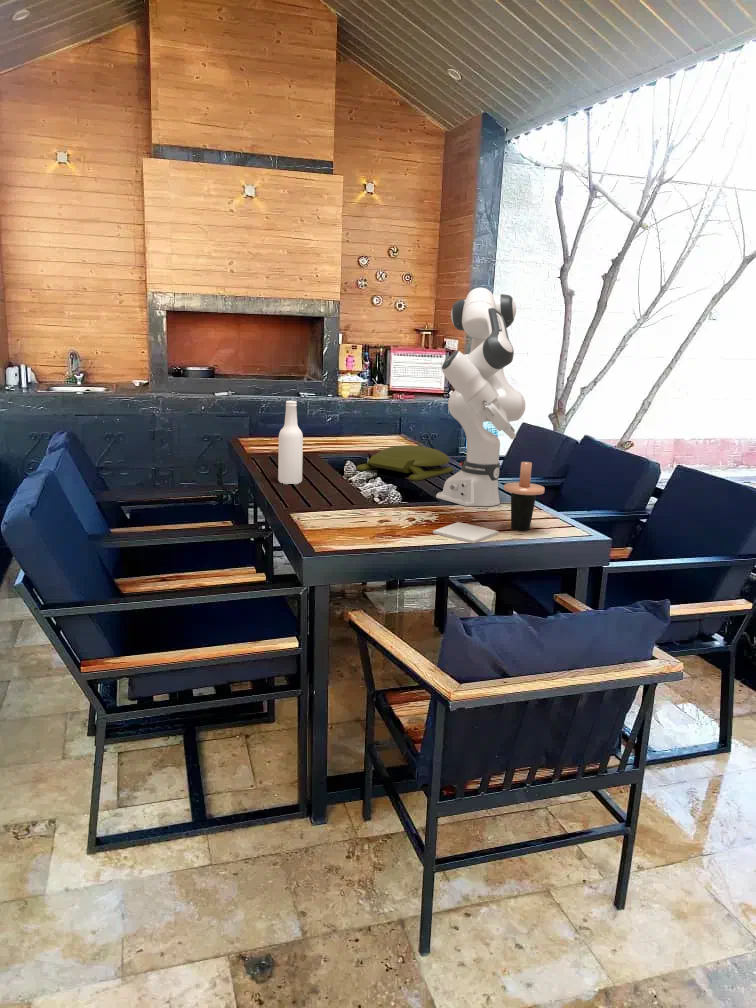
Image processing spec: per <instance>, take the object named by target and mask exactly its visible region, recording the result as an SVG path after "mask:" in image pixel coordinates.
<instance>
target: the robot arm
mask: <svg viewBox="0 0 756 1008" xmlns="http://www.w3.org/2000/svg"><path fill="white" fill-rule="evenodd" d="M450 311H451V312H450V319H451V322H452V324H453V326H454V328H455V329H456V330H458V331H462V332H463V331H464V332H465V333H466V334H467V335H468V336H469V337H471V343H470V352H469V353H467V354H465V353H463V352H461V351H459V350H456V351H454V352H453V353H451V354H450V355H449V356H448V357H447V359H445V360H444V362H443V363H442V364H441V365H442V366H441V371H442V373H443V375H444V377H445V378H446V379H447V381H448V383H449V384H450V385H451V386H452V387H453V389H454V391H452V393H451V394H450V396H449V398H448V402H447V403H448V404H447V407H448V410H449V414H450V415H451V416H452V417H453V419H455V420H456V421H457V422H458V423H459V425H460V426H461V427H462V429H463V430H464V434H465V437H466V457H465V460H464V461H461V462H459V465H458V466H461V468H460V470H459V471H457V472H456V473H455V474H453V475H451V476H450V477H447V479H446V480H445V482H444V484H443V490H442V491H440V492H437V494H436V495H435V497H436V498H437V499H440V500H443V501H447V502H451V503H454V504H457V505H459V506H460V505H462V506H464V507H494V506H497V505H500V504H501V500H500V495H499V477H500V466H501V465H500V464H501V463H500V460H499V459H500V449H501V441H500V439H499V437H498V436H497V435H496V434H495V433H493V432H491V431H489V430H488V429H486V428H485V427H484V423H486V422H490V423H491V424H492V425H493V426H494V428H495V429H496V430H497V431H498V432H501V431H502V432H503V433H505V434H506V435H507V436H508V437H509V439H510V440H513V439H515V438H516V437H517V434H516V433H515V431H516V430H515V428H514V427H513V426H512V424H511V423H510V422H516V421H519V420H520V419H521V418H522V416H523V415H524V413H525V411H526V400H525V398H524V396H523V395H522V393H521V392H519V391H518V390H516V389H515V388H514V387H513V386H512V385H511V384H510V383H509V381H508V380H507V378H506V376H505V372H504V368H505V367H507V366H508V365H510V364H511V363H512V362H513V360H514V353H515V352H514V351H515V350H514V347H513V345H512V343H511V341H510V338H509V333H508V329H507V328H509V327H511V326H512V324H513V323H514V321H515V317H516V314H517V306H516V303H515V301H514V298H513V297H512V296H511V295H509V294H505V293H504V294H502V293H501V294H500V295H497V294H496V295H495V294H493V293H492V292H491V291H490V290H489V289H488V288H485V287H475V288H474V289H471V290H470V292H468V294H467V296H466V297H465V298H463V299H459V300H457V301H455V302H454V303H453V304H452V308H451V310H450Z"/></svg>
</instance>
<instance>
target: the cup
mask: <svg viewBox="0 0 756 1008" xmlns="http://www.w3.org/2000/svg"><path fill="white" fill-rule="evenodd" d="M536 498H537V495H521V494H514V493H510V528H511V530H513V531H516V530H517V531H518V532H528V531H530V529H531V524H532V523H531V522H532V518H533V514H534V508H535V503H536ZM517 531H516V532H517Z"/></svg>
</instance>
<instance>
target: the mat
mask: <svg viewBox="0 0 756 1008" xmlns="http://www.w3.org/2000/svg"><path fill="white" fill-rule="evenodd" d="M432 534H435V535H438V536H442V537H446V538H450V539H454V540H459V541H463V542H468V543H470V544H476V543H478V542H481V541H483V540H484V541H485V540H486V539H489V538H491V537H494V536H496V535H499V530H495V529H490V528H487V527H482V526H478V525H474V524H468V523H463V522H460V521H457V522H455V523H451V524H448V525H446V526H443V527H440V528H437V529H434V530H432Z"/></svg>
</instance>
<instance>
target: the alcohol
mask: <svg viewBox="0 0 756 1008" xmlns="http://www.w3.org/2000/svg"><path fill="white" fill-rule="evenodd" d="M297 403H298V401H296V400H286V401H285V414H284V423H283V424H284V425H283V427H282V428H280V431H279V432H278V458H277V459H278V461H277V462H278V465H277V467H278V469H277V470H278V474H277V475H278V476H277V480H278V482H279V483H280V484H282V483H283V484H282V485H288V484H294V485H299V483H300V484H301V483H302V482H303V458H304V457H303V451H304V450H303V449H304V448H303V446H304V443H303V442H304V436H303V434H304V433H303V431H302V430H301V429H300V427H299V425H298V412H297V411H298V410H297V409H298V408H297V406H298V405H297Z"/></svg>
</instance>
